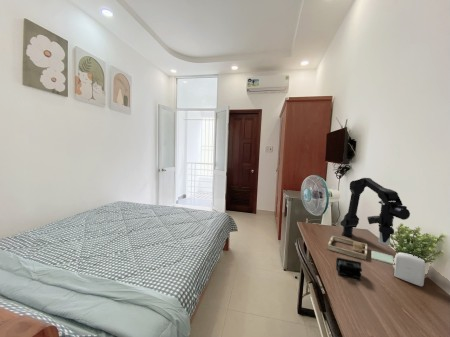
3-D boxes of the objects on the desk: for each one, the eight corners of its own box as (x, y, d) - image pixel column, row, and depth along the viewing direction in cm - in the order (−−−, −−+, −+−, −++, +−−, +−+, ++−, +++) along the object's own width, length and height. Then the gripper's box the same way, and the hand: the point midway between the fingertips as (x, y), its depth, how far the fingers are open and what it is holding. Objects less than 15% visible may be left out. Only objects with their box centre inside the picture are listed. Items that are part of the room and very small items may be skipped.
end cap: (358, 272, 100) (359, 259, 100) (362, 281, 94) (363, 267, 93) (335, 267, 104) (336, 255, 103) (337, 275, 98) (338, 262, 97)
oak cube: (352, 247, 126) (353, 241, 126) (360, 249, 125) (361, 243, 124) (353, 250, 123) (354, 244, 122) (361, 252, 121) (362, 245, 121)
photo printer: (392, 276, 98) (395, 251, 97) (395, 273, 101) (397, 249, 99) (422, 288, 90) (426, 261, 89) (424, 284, 93) (427, 258, 92)
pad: (371, 251, 122) (371, 250, 122) (393, 257, 116) (393, 256, 116) (371, 258, 114) (371, 257, 114) (394, 264, 108) (394, 263, 108)
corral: (331, 239, 138) (332, 235, 137) (367, 248, 126) (367, 244, 126) (327, 249, 124) (327, 245, 123) (366, 260, 112) (366, 255, 112)
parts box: (378, 240, 117) (379, 229, 117) (388, 242, 115) (389, 232, 114) (378, 243, 114) (379, 232, 113) (389, 245, 111) (390, 234, 111)
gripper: (369, 206, 125) (366, 231, 126) (368, 214, 110) (366, 242, 111) (392, 210, 118) (389, 236, 120) (395, 219, 103) (392, 248, 105)
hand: (384, 240), depth 114 cm, fingers closed on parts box, 4 cm apart
